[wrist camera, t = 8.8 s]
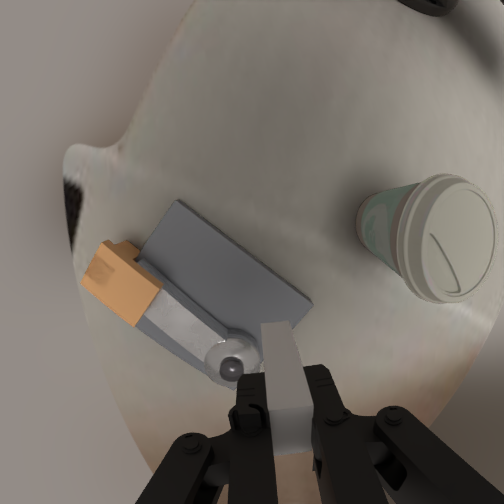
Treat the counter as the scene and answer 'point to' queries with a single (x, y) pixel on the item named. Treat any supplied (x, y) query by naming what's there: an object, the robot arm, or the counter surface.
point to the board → (217, 280)
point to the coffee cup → (433, 236)
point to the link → (202, 333)
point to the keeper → (121, 281)
